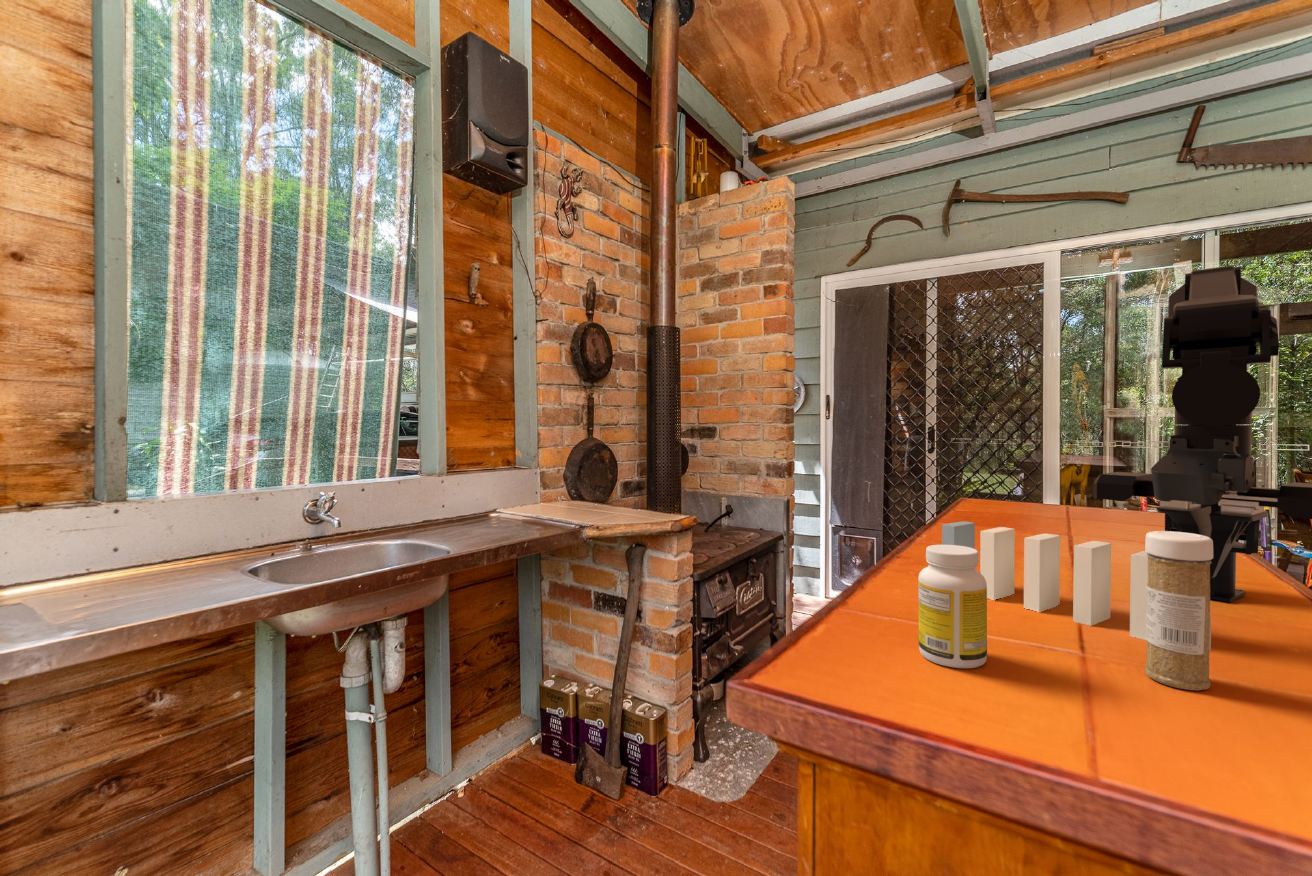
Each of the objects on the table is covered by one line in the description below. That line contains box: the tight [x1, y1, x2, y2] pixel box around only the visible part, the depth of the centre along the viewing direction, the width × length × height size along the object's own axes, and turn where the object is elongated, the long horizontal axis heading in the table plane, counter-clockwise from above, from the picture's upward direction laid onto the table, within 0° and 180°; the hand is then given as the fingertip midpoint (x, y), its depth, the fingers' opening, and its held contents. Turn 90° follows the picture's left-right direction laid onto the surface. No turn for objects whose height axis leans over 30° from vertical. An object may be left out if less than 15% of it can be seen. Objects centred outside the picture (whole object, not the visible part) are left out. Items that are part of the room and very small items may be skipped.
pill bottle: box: [917, 544, 988, 670], centre depth 59 cm, size 6×6×11 cm
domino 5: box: [1129, 550, 1148, 641], centre depth 64 cm, size 2×5×9 cm, turn 121°
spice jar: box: [1144, 530, 1213, 691], centre depth 53 cm, size 5×5×13 cm
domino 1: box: [941, 520, 976, 549], centre depth 83 cm, size 2×5×9 cm, turn 121°
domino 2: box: [979, 526, 1016, 601], centre depth 78 cm, size 2×5×9 cm, turn 121°
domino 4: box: [1072, 540, 1112, 627], centre depth 69 cm, size 2×5×9 cm, turn 121°
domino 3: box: [1023, 532, 1061, 613], centre depth 74 cm, size 2×5×9 cm, turn 121°
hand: (1208, 576), depth 60 cm, fingers closed
